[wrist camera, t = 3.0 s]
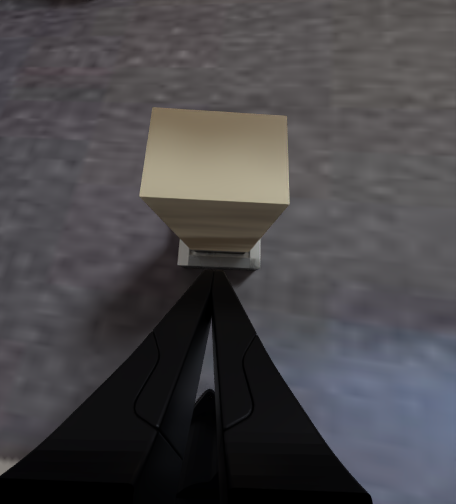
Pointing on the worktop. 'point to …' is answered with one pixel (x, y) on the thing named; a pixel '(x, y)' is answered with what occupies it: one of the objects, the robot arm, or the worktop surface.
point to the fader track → (219, 259)
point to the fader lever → (216, 176)
